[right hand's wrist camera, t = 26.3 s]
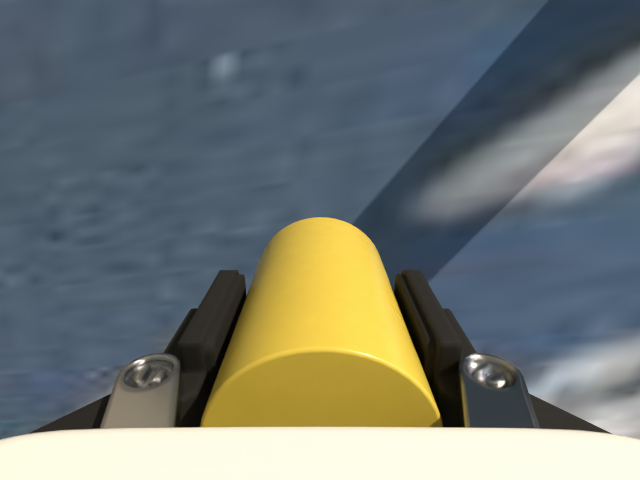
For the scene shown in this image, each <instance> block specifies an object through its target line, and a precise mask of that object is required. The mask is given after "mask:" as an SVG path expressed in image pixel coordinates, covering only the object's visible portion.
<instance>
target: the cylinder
mask: <svg viewBox="0 0 640 480" xmlns="http://www.w3.org/2000/svg"><path fill="white" fill-rule="evenodd" d="M200 427H443V423H442V418H441V416H440V413H439V410H438V407H437V405H436V402H435V399H434V397H433V394H432V392H431V389H430V386H429V384H428V381H427V379H426V376H425V373H424V371H423V368H422V366H421V363H420V360H419V358H418V355H417V352H416V350H415V347H414V345H413V342H412V339H411V337H410V334H409V332H408V329H407V326H406V324H405V321H404V318H403V316H402V313H401V311H400V308H399V305H398V303H397V300H396V298H395V295H394V292H393V290H392V287H391V284H390V282H389V279H388V277H387V274H386V271H385V269H384V266H383V264H382V261H381V258H380V256H379V253H378V251H377V249H376V247H375V245H374V244H373V243H372V241H371V240H370V239H369V238H368V237H367V236H366V235H365V234H364V233H363V232H362V231H360V230H359V229H358V228H356V227H354V226H353V225H351V224H349V223H346V222H344V221H341V220H337V219H332V218H319V217H317V218H308V219H304V220H300V221H298V222H295V223H292V224H291V225H289V226H287V227H285V228H284V229H282V230H281V231H280V232H278V233H277V234H276V235H275V236H274V237H273V238H272V239H271V241H270V242H269V243H268V244H267V246H266V248H265V250H264V251H263V254H262V256H261V259H260V262H259V264H258V267H257V270H256V272H255V275H254V278H253V280H252V283H251V286H250V289H249V291H248V294H247V297H246V299H245V302H244V305H243V307H242V310H241V313H240V316H239V318H238V321H237V324H236V326H235V329H234V332H233V334H232V337H231V340H230V343H229V345H228V348H227V351H226V353H225V356H224V359H223V361H222V364H221V367H220V369H219V372H218V375H217V378H216V380H215V383H214V386H213V388H212V391H211V394H210V396H209V399H208V402H207V405H206V407H205V410H204V413H203V415H202V419H201V424H200Z"/></svg>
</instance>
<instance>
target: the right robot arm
mask: <svg viewBox="0 0 640 480" xmlns="http://www.w3.org/2000/svg"><path fill="white" fill-rule="evenodd" d="M394 295H395V298H396V300H397V303H398V305H399V308H400V311H401V313H402V316H403V318H404V321H405V324H406V326H407V329H408V332H409V334H410V337H411V339H412V342H413V345H414V347H415V350H416V352H417V355H418V358H419V360H420V363H421V366H422V368H423V371H424V373H425V376H426V379H427V381H428V384H429V386H430V389H431V392H432V394H433V397H434V399H435V402H436V405H437V407H438V410H439V413H440V416H441V418H442V423H443V427H200V424H201V419H202V415H203V413H204V410H205V407H206V405H207V402H208V399H209V396H210V394H211V391H212V388H213V386H214V383H215V380H216V378H217V375H218V372H219V369H220V367H221V364H222V361H223V359H224V356H225V353H226V351H227V348H228V345H229V343H230V340H231V337H232V334H233V332H234V329H235V326H236V324H237V321H238V318H239V316H240V313H241V310H242V307H243V305H244V302H245V299H246V287H245V277H244V275H239V272H238V270H220V271H219V273H218V275H217V276H216V278H215V280H214V282H213V283H212V285H211V287H210V288H209V290H208V292H207V294H206V295H205V297H204V299H203V300H202V302H201V304H200V306H199V307H198V309H191V310H190V311H189V312H188V314H187V316H186V317H185V319H184V321H183V322H182V324H181V325H180V327H179V329H178V330H177V332H176V334H175V335H174V337H173V338H172V340H171V342H170V343H169V345H168V347H167V348H166V350H165V351H164V353H153V354H149V355H145V356H142V357H139V358H137V359H135V360H133V361H131V362H130V363H128V364H127V365H126V366H125V367H124V368H123V369H121V370H120V372H119V374H118V376H117V378H116V381H115V384H114V387H113V390H112V393H111V394H109V395H107V396H105V397H103V398H101V399H99V400H97V401H95V402H93V403H91V404H89V405H87V406H85V407H83V408H80V409H78V410H76V411H74V412H72V413H70V414H68V415H66V416H64V417H62V418H60V419H58V420H56V421H54V422H52V423H49V424H47V425H45V426H43V427H41V428H39V429H37V430H35V431H33V432H31V433H29V434H26V435H20V436H15V437H10V438H4V439H1V440H0V480H640V440H639V439H636V438H630V437H625V436H620V435H614V434H611V433H609V432H607V431H605V430H603V429H601V428H599V427H597V426H595V425H593V424H591V423H589V422H587V421H585V420H582V419H580V418H578V417H576V416H574V415H572V414H570V413H568V412H566V411H564V410H562V409H560V408H558V407H556V406H554V405H551V404H549V403H547V402H545V401H543V400H541V399H539V398H537V397H535V396H533V395H531V394H529V393H528V390H527V387H526V384H525V381H524V378H523V376H522V374H521V372H520V370H519V369H517V368H516V367H515V366H514V365H513V364H512V363H510V362H509V361H507V360H505V359H503V358H501V357H498V356H495V355H491V354H487V353H476V351H475V349H474V348H473V346H472V345H471V343H470V341H469V340H468V338H467V336H466V335H465V333H464V332H463V330H462V328H461V327H460V325H459V323H458V322H457V320H456V319H455V317H454V315H453V314H452V312H451V311H450V310H449V309H442V307H441V305H440V303H439V302H438V300H437V298H436V297H435V295H434V293H433V291H432V290H431V288H430V286H429V285H428V283H427V281H426V279H425V278H424V276H423V274H422V273H421V271H420V270H403V271H402V273H401V275H396V278H395V290H394Z"/></svg>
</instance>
